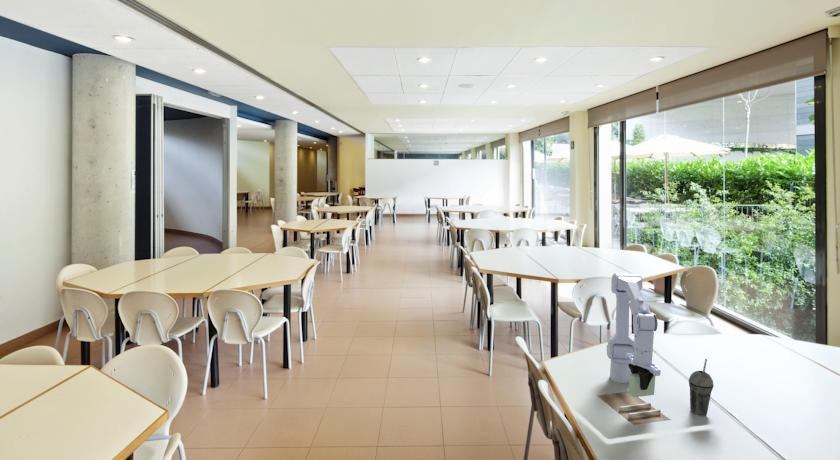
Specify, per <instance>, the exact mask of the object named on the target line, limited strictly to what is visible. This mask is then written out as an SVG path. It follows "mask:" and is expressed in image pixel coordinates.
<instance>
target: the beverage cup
mask: <svg viewBox="0 0 840 460" xmlns="http://www.w3.org/2000/svg"><path fill="white" fill-rule="evenodd" d="M707 361H708V359H707V358H705V359H704V364H703V369H702V370H696V371H693V372H692V373H690V375H689V379H688V386H689V400H690V401H689V402H690V403H689V408H690V412H691V413H692V414H693V415H697V416H700V417H701V416H703V417H707V415H708V411H709V410H708V409H709V404H710V401H711V395H712V394H711V393H712V392H713V389H714V382H713V378H712V376H711V375H710V374H709V373H707V372H706V367H707Z"/></svg>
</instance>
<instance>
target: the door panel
mask: <svg viewBox="0 0 840 460" xmlns="http://www.w3.org/2000/svg"><path fill="white" fill-rule="evenodd" d="M655 386H656V376H653V378H652V379H651V381H650V383H649V386H648V388H647V390H641V388H640V376H639V373H636V374H630V377H629V382H628V392H629V393H628V394H629V395H631V396H632V397H639V398H641V397H645V396H646V397H647V396H649V397H650V396H655V388H656V387H655Z"/></svg>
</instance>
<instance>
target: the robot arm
mask: <svg viewBox="0 0 840 460" xmlns="http://www.w3.org/2000/svg"><path fill="white" fill-rule="evenodd" d="M642 287H643V277H642V275H641V274H639V273H636V274H635V273H633V274H632V273H617V272H614V273H613V274H612V275H611V287H610V288H611V289H610V290H611V293H612V294H615V297H616V300H615V301H616V306H615V308H616V309H615V311H616V312H615V334H614V335H612V336H611V337H609V338H608V340H607V345H606V355H607V358H608V359H610V367H609V379H610V380H611V381H613V382H615V383H620V384H629V377H630V374H636V373H639V376H640V388H641V390H647V388H648V386H649V383H650V381H651V379H652V378H653V376H655V377H658V376H659V377H660V376H661V369H660V368H659V367H658V366H657V365H655V363H654V362H653V350H654V338H655V332H657V329H658V323H659V322H658V317H657V315H656V313H654V312H653V311H651V310H650V307H649V305H648V302H647V300H646V299H644V298H643V297H642V294H641V290H642ZM630 312H631V314H632V328H633V331H632V332H633V335H634V339H633V338H631V337H630V333H629V331H630Z"/></svg>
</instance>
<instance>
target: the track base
mask: <svg viewBox="0 0 840 460" xmlns="http://www.w3.org/2000/svg"><path fill="white" fill-rule="evenodd" d="M628 393H629V391H622V392H614V393H605V394H597V395H596V396H597V398H599V399H601V400H602V401H603V402H604V403H605V404H607V405H608V406H609V407H611V408H612V409H613V410H614V411H616V412H617V413H618V414H619V415H621V416H622V417H623V418H625V419H626V420H627V421H629V422H630V423H631V424H632V425H634V426H636V425H641V424H647V423H648V424H649V423H655V422H657V423H658V422H663V421H670V420H671V418H670V417H668V416H667V415H665V414H664V413H662V412H661V409H656V407H655V408H654V407H653V406H652V403H651V402H646V401H645V400H643V399H642V398H641V397H632V396H631V395H629V394H628Z"/></svg>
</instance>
